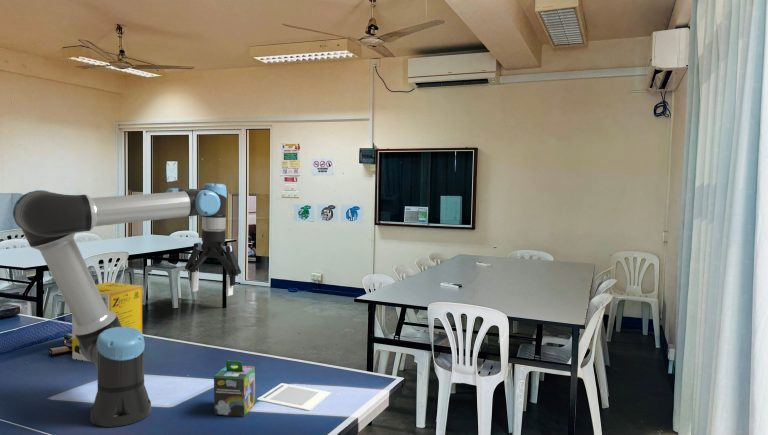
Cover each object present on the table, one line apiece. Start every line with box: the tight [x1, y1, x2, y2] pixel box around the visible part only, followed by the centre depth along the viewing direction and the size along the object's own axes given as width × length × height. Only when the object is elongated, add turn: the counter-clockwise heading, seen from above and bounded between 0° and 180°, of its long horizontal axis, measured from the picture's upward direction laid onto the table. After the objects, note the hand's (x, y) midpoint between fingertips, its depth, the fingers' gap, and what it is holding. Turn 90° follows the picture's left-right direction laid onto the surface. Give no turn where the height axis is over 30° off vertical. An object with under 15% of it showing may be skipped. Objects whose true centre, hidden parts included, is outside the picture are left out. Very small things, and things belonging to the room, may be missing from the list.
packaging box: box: [71, 282, 143, 363], centre depth 196 cm, size 16×16×25 cm
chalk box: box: [213, 359, 256, 418], centre depth 154 cm, size 9×9×15 cm
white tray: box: [256, 382, 332, 412], centre depth 165 cm, size 14×18×1 cm
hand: (212, 293), depth 179 cm, fingers open, 13 cm apart
